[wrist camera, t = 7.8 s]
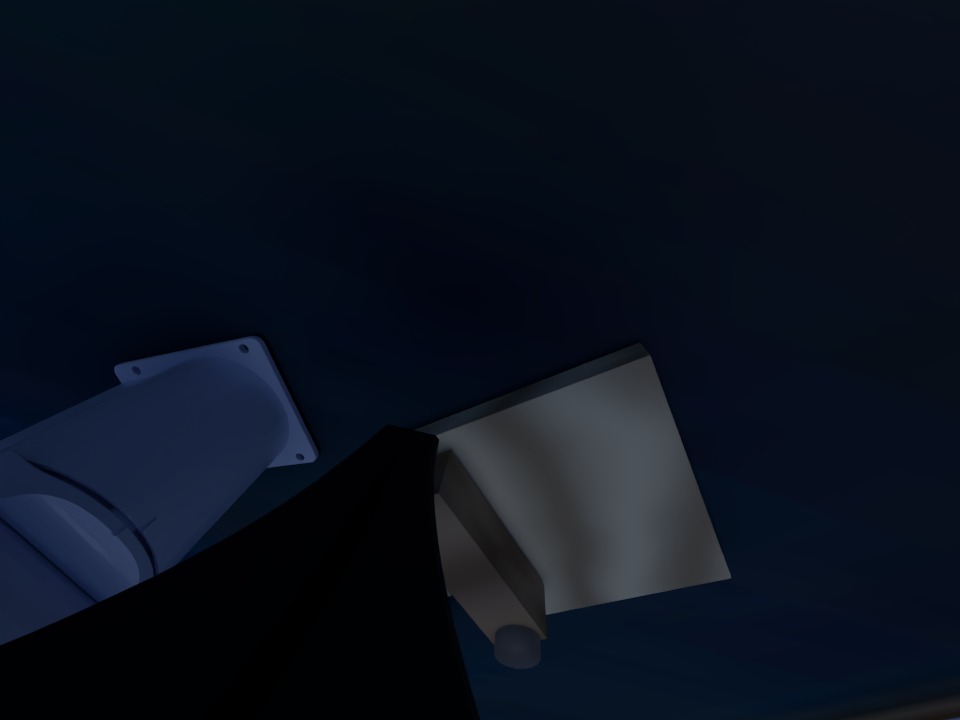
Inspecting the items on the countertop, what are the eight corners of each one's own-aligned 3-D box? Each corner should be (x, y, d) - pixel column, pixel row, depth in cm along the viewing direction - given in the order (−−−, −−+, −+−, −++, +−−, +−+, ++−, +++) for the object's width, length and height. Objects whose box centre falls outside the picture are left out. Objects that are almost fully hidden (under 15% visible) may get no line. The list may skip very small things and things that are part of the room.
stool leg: (549, 591, 22) (553, 663, 19) (505, 601, 23) (502, 672, 20) (450, 449, 19) (434, 507, 15) (403, 468, 20) (377, 527, 16)
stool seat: (494, 602, 26) (488, 678, 22) (379, 443, 21) (345, 502, 17) (718, 554, 22) (763, 636, 18) (640, 342, 17) (676, 388, 13)
